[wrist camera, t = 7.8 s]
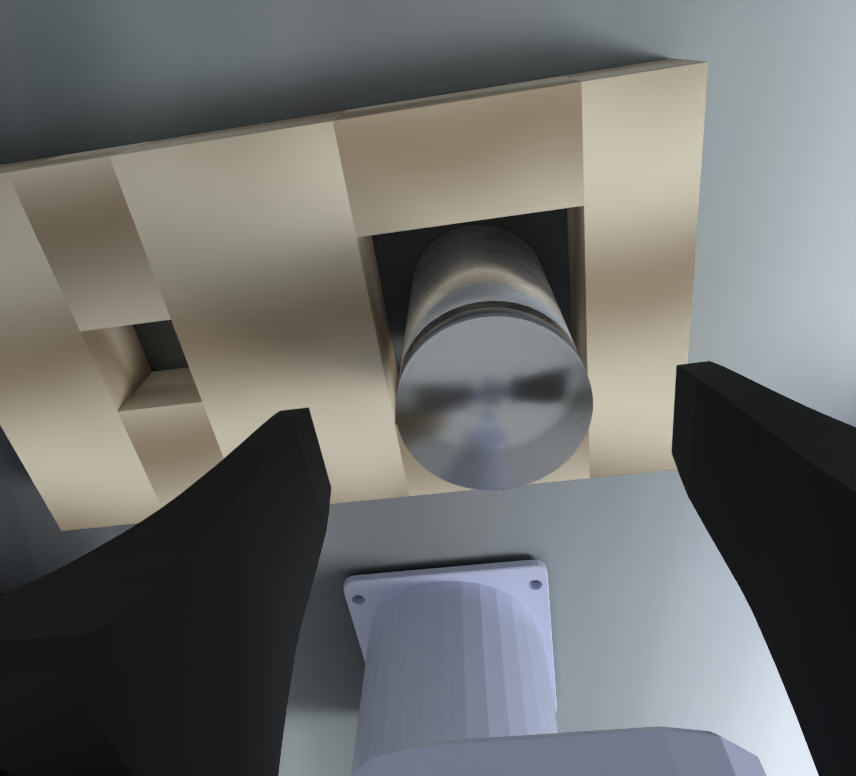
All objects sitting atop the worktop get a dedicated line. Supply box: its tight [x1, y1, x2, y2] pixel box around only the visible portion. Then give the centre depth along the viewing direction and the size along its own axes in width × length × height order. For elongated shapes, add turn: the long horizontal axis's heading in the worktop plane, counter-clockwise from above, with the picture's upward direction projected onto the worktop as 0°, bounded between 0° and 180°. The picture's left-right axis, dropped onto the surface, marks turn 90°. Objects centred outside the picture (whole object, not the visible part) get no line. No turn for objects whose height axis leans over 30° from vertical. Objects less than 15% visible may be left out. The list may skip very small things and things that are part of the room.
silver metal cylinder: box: [396, 224, 593, 490], centre depth 16 cm, size 4×4×7 cm
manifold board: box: [0, 58, 708, 531], centre depth 18 cm, size 11×20×2 cm, turn 98°
